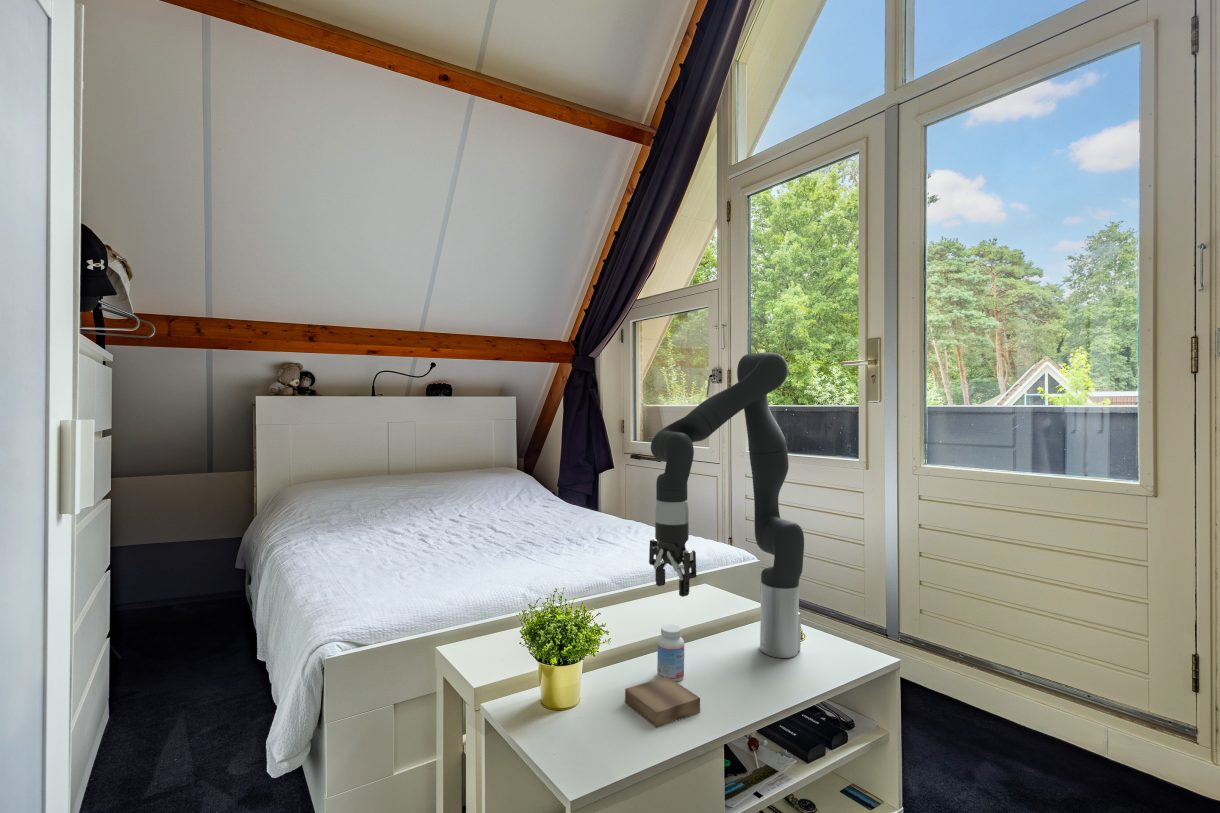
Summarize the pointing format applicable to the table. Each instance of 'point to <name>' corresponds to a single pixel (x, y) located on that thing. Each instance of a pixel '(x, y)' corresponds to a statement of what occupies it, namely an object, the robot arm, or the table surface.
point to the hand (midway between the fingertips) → (671, 590)
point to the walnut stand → (662, 701)
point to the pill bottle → (670, 653)
